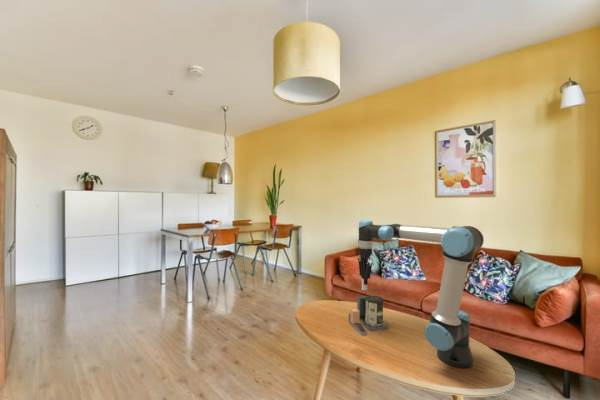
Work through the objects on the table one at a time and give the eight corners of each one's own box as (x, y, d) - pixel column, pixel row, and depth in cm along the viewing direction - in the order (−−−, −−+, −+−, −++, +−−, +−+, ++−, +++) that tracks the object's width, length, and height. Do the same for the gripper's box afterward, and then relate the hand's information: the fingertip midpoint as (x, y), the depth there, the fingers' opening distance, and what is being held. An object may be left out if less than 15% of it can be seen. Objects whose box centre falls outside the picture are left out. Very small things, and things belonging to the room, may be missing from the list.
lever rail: (366, 335, 154) (367, 326, 154) (361, 335, 153) (362, 326, 153) (353, 321, 171) (353, 313, 171) (348, 321, 170) (348, 313, 170)
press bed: (388, 328, 162) (388, 304, 162) (369, 331, 159) (370, 306, 159) (374, 317, 178) (374, 295, 177) (357, 319, 175) (357, 296, 174)
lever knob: (359, 322, 164) (359, 311, 164) (353, 323, 163) (353, 311, 163) (356, 320, 168) (356, 308, 168) (350, 320, 167) (350, 309, 167)
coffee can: (380, 318, 171) (380, 295, 171) (385, 326, 161) (385, 301, 161) (363, 317, 172) (363, 295, 171) (367, 325, 161) (367, 301, 161)
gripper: (377, 249, 151) (376, 293, 151) (365, 245, 164) (364, 285, 164) (364, 250, 149) (364, 294, 149) (353, 246, 162) (353, 286, 162)
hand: (364, 289), depth 156 cm, fingers closed
